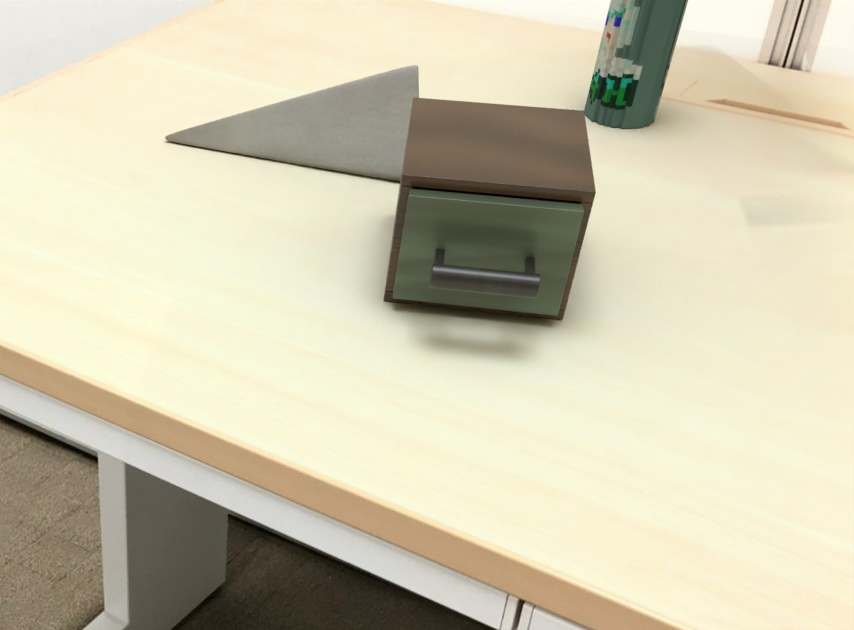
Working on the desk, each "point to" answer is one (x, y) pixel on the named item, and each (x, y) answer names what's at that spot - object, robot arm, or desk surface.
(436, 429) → the desk surface
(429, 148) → the cabinet
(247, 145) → the grey triangular wedge
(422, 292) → the drawer
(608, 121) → the can
